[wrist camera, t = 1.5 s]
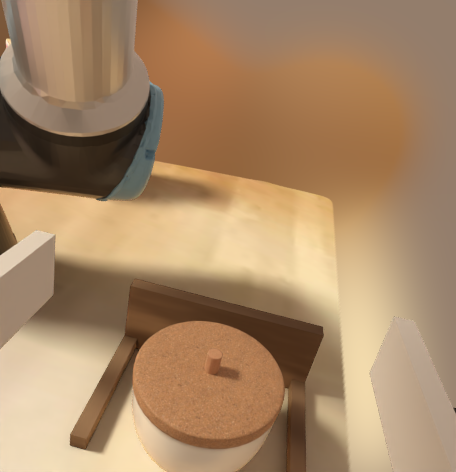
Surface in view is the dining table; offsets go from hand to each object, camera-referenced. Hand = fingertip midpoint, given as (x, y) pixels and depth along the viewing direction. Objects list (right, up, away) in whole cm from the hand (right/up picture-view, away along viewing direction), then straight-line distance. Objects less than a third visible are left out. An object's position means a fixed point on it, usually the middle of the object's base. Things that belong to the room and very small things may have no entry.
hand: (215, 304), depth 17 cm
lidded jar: (-2, -14, +18) cm, 22 cm away
